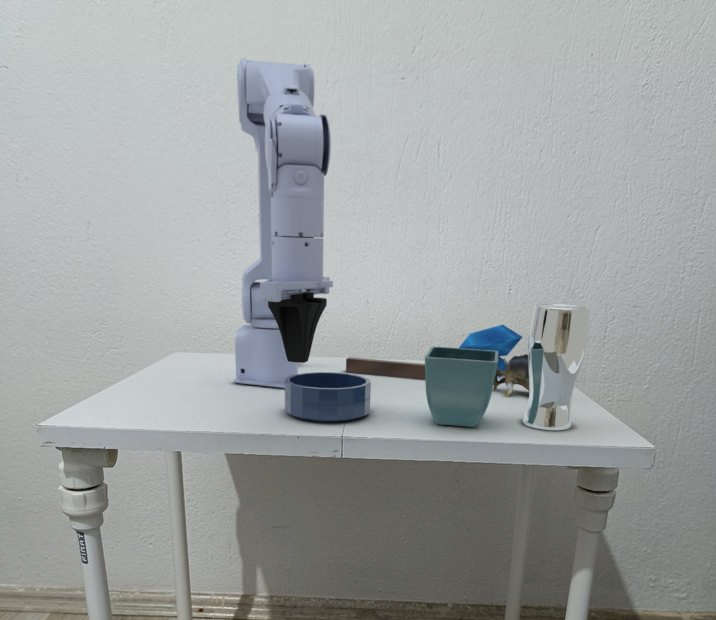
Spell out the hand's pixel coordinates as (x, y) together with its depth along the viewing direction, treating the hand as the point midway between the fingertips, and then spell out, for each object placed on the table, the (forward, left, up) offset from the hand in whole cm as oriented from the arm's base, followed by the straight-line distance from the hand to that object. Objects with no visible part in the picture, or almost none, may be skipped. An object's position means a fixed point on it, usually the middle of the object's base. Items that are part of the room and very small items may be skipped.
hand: (297, 361), depth 77 cm
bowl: (0, +10, -8) cm, 13 cm away
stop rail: (0, +39, -8) cm, 40 cm away
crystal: (+15, +49, -9) cm, 52 cm away
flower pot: (+17, +13, -9) cm, 23 cm away
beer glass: (+28, +17, -9) cm, 34 cm away
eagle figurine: (+22, +34, -9) cm, 41 cm away
